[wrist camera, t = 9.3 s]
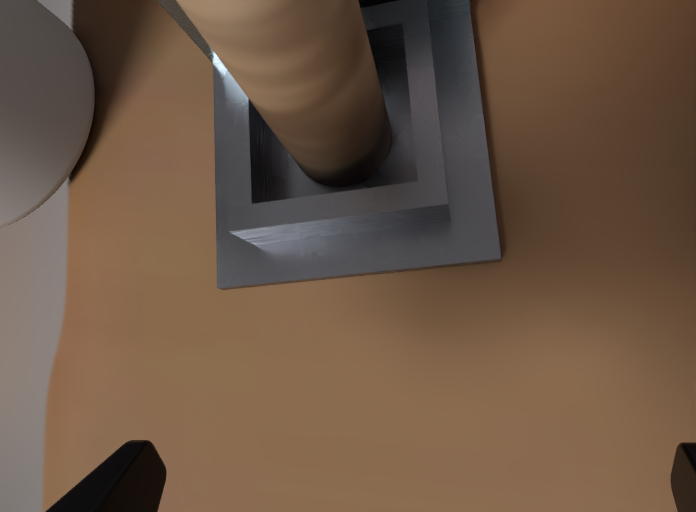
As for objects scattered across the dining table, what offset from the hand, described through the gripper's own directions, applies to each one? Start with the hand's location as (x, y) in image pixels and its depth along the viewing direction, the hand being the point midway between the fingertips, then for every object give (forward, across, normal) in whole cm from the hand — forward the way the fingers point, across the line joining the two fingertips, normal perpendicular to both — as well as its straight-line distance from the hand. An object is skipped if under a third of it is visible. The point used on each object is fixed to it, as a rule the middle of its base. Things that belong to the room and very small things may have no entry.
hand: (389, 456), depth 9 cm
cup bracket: (+17, +3, 0) cm, 17 cm away
